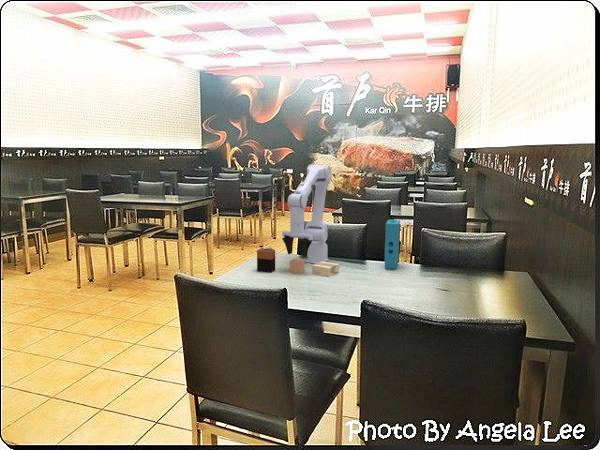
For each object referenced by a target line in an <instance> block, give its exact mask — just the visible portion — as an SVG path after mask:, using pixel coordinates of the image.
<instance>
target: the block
mask: <svg viewBox="0 0 600 450" xmlns="http://www.w3.org/2000/svg"><path fill="white" fill-rule="evenodd" d="M400 224H401V220H400V219H388V220H387V221H386V223H385V238H384V239H385V240H384V269H385V270H393V271H397V269H398V266H399V252H400V229H401V228H400V227H401V225H400Z"/></svg>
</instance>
